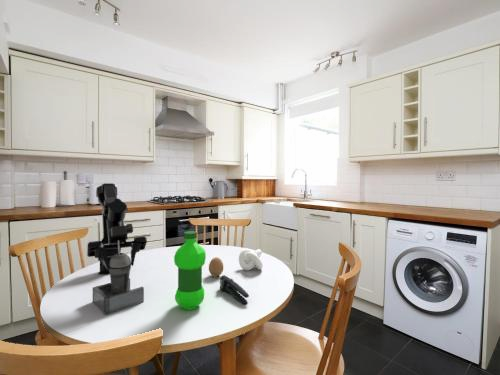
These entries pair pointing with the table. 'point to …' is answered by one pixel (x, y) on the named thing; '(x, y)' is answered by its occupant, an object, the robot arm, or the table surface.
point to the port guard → (116, 298)
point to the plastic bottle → (190, 272)
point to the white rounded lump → (250, 259)
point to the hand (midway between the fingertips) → (120, 267)
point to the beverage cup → (119, 272)
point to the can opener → (233, 289)
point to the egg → (216, 266)
